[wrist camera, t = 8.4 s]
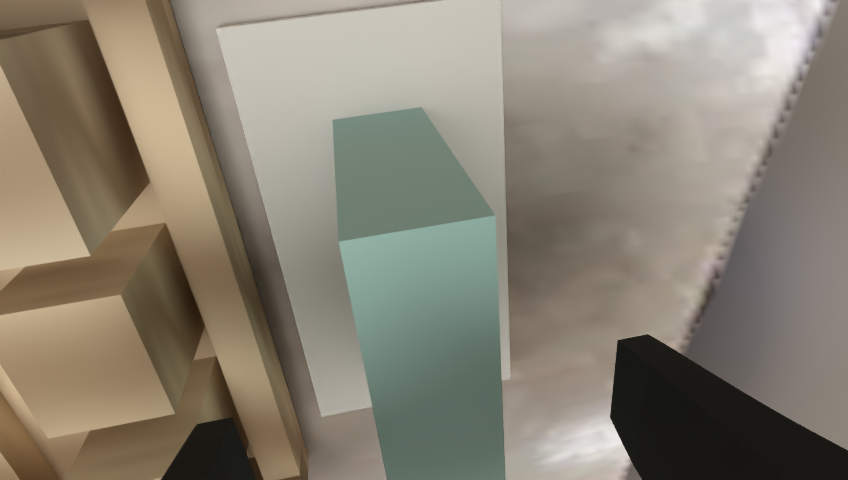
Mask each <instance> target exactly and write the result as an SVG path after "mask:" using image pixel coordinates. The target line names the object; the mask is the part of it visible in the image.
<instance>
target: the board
mask: <svg viewBox="0 0 848 480" xmlns="http://www.w3.org/2000/svg"><path fill="white" fill-rule="evenodd" d="M332 121H333V141H334V161H335V181H336V201H337V221H338V241H339V246H340V251H341V256H342V261H343V266H344V271H345V276H346V281H347V286H348V290H349V295H350V300H351V305H352V310H353V315H354V320H355V325H356V330H357V334H358V339H359V344H360V349H361V354H362V359H363V364H364V369H365V374H366V379H367V383H368V388H369V393H370V398H371V403H372V408H373V413H374V418H375V423H376V428H377V432H378V437H379V442H380V447H381V452H382V457H383V462H384V467H385V472H386V477H387V480H505V456H504V429H503V403H502V376H501V349H500V323H499V296H498V269H497V242H496V216H495V214H494V213H493V211H492V210H491V208H490V207H489V205H488V204H487V202H486V201H485V199H484V198H483V197H482V195H481V194H480V192H479V191H478V189H477V188H476V186H475V185H474V183H473V182H472V180H471V179H470V178H469V176H468V175H467V173H466V172H465V170H464V169H463V167H462V166H461V164H460V163H459V162H458V160H457V159H456V157H455V156H454V154H453V153H452V151H451V150H450V148H449V147H448V145H447V144H446V143H445V141H444V140H443V138H442V137H441V135H440V134H439V132H438V131H437V129H436V128H435V126H434V125H433V124H432V122H431V121H430V119H429V118H428V116H427V115H426V113H425V112H424V110H423V109H422V108H421V107H419V108H412V109H405V110H398V111H391V112H384V113H377V114H370V115H363V116H356V117H349V118H342V119H335V120H332Z"/></svg>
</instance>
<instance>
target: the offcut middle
mask: <svg viewBox="0 0 848 480" xmlns="http://www.w3.org/2000/svg"><path fill="white" fill-rule="evenodd" d="M204 327H205V326H204V323H203V321H202V318H201V316H200V313H199V310H198V308H197V305H196V302H195V300H194V297H193V295H192V292H191V289H190V287H189V284H188V281H187V279H186V276H185V273H184V271H183V268H182V266H181V263H180V260H179V258H178V255H177V252H176V250H175V247H174V244H173V242H172V239H171V237H170V234H169V231H168V229H167V226H166V223H161V224H154V225H148V226H142V227H136V228H129V229H123V230H117V231H110V233H109V234H108V235H107V236H106V237H105V239H104V240H103V241H102V242H101V244H100V245H99V246H98V247H97V249H96V250H95V251H94V252H93V254H92V255H91V256H87V257H81V258H75V259H69V260H62V261H56V262H50V263H44V264H38V265H32V266H25V267H24V268H23V269H22V270H21V271H20V272H19V273H18V274H17V275H16V276H15V277H14V278H13V279H12V280H11V281H10V282H9V283H8V284H7V285H6V286H5V287H4V288H3V289H2V290H1V291H0V365H1V366H2V368H3V369H4V371H5V373H6V374H7V376H8V377H9V379H10V380H11V382H12V383H13V385H14V387H15V388H16V390H17V391H18V393H19V394H20V396H21V397H22V399H23V400H24V402H25V404H26V405H27V407H28V408H29V410H30V411H31V413H32V414H33V416H34V418H35V419H36V421H37V422H38V424H39V425H40V427H41V428H42V430H43V431H44V433H45V435H46V436H47V438H48V439H49V438H54V437H59V436H64V435H70V434H75V433H80V432H85V431H90V430H95V429H101V428H106V427H111V426H116V425H121V424H126V423H131V422H137V421H142V420H147V419H152V418H157V417H162V416H167V415H173V414H176V411H177V408H178V405H179V402H180V399H181V396H182V393H183V390H184V387H185V384H186V381H187V378H188V375H189V372H190V369H191V366H192V363H193V360H194V357H195V354H196V351H197V348H198V345H199V342H200V339H201V336H202V333H203V330H204Z"/></svg>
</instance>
